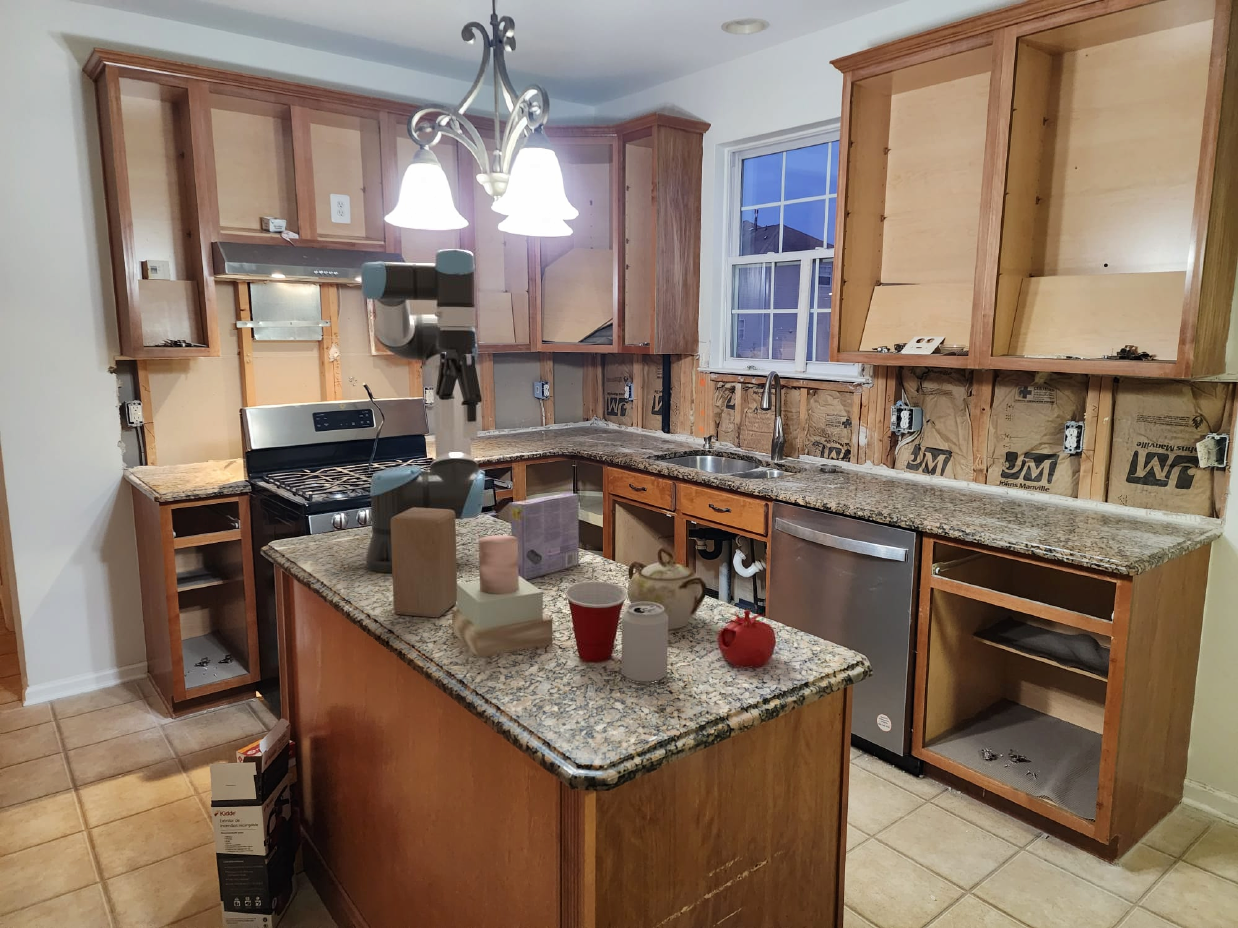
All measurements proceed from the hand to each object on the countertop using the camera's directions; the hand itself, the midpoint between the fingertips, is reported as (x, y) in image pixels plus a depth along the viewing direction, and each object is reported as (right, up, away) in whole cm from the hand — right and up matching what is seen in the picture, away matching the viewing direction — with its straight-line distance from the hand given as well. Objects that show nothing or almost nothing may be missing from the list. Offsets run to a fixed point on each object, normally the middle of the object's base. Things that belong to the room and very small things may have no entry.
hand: (458, 434), depth 166 cm
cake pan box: (+16, -32, +25) cm, 43 cm away
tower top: (+11, -34, -18) cm, 40 cm away
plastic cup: (+29, -40, -25) cm, 55 cm away
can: (+37, -41, -33) cm, 65 cm away
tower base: (+11, -39, -17) cm, 44 cm away
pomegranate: (+55, -40, -26) cm, 73 cm away
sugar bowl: (+42, -37, -8) cm, 57 cm away
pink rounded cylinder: (+11, -29, -19) cm, 36 cm away
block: (-6, -36, -2) cm, 36 cm away
